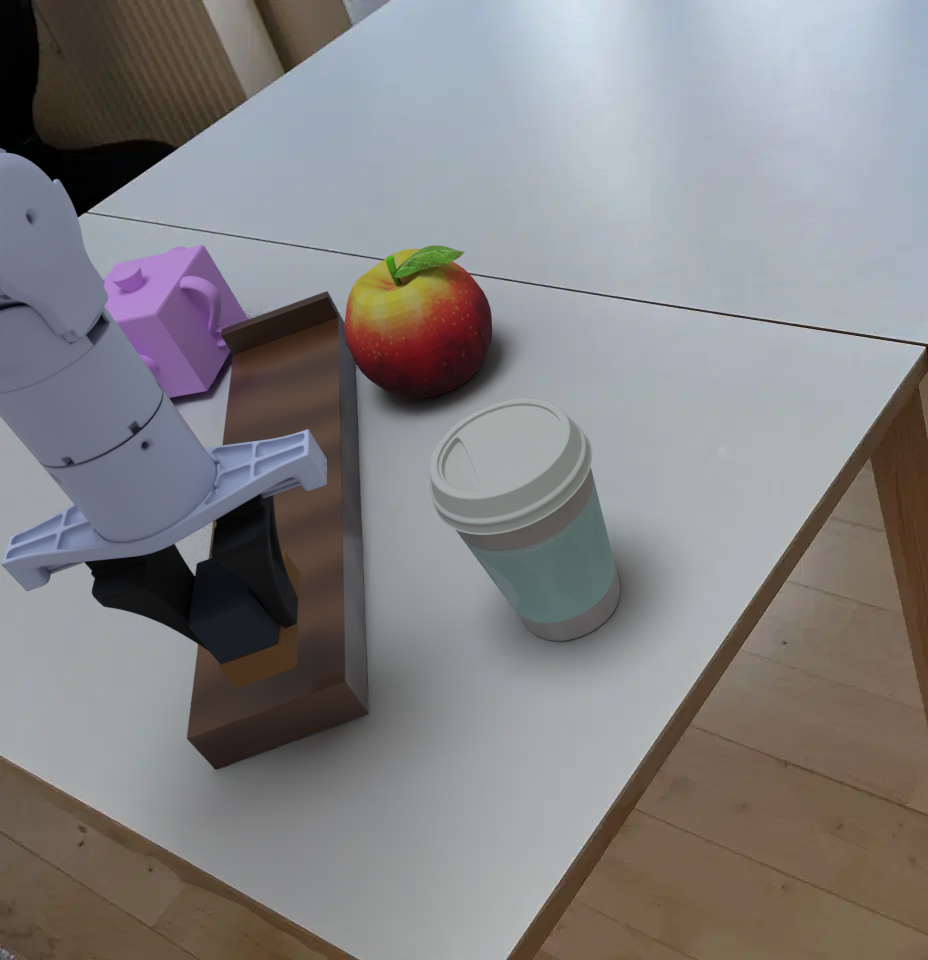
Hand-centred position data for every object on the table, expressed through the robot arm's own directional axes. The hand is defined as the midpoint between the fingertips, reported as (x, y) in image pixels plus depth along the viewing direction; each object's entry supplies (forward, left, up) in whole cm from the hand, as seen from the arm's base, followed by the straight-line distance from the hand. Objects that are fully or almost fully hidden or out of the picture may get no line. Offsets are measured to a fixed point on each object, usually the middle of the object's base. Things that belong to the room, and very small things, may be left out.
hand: (256, 624), depth 55 cm
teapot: (+13, +44, -9) cm, 47 cm away
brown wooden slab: (+9, +17, -8) cm, 21 cm away
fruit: (+24, +20, -9) cm, 33 cm away
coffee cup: (+13, -6, -9) cm, 17 cm away
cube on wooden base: (+1, +1, -1) cm, 2 cm away
